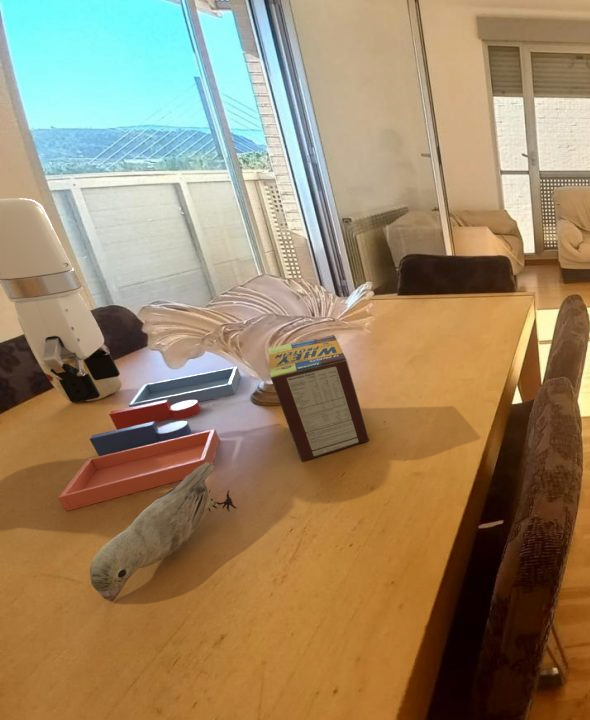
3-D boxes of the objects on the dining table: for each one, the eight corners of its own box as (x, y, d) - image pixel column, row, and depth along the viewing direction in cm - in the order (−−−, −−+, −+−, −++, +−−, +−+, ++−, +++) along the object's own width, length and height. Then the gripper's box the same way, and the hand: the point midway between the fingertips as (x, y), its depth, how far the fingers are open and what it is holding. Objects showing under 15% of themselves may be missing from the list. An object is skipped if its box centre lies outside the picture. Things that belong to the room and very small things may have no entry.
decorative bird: (85, 603, 52) (52, 552, 50) (208, 506, 67) (188, 462, 64) (131, 604, 52) (101, 553, 49) (245, 506, 67) (226, 462, 64)
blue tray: (133, 415, 93) (128, 405, 92) (148, 394, 102) (143, 384, 101) (234, 394, 101) (230, 384, 100) (240, 376, 110) (237, 366, 109)
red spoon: (114, 434, 87) (106, 417, 85) (122, 424, 90) (114, 408, 89) (199, 415, 93) (192, 399, 91) (203, 406, 96) (196, 391, 95)
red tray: (66, 511, 67) (57, 497, 66) (94, 471, 76) (87, 459, 75) (209, 472, 75) (204, 459, 74) (220, 440, 84) (215, 428, 83)
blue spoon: (95, 460, 79) (85, 442, 77) (104, 448, 82) (95, 431, 81) (189, 438, 85) (181, 421, 83) (193, 427, 88) (186, 411, 87)
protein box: (356, 407, 93) (334, 333, 87) (370, 441, 82) (347, 358, 76) (293, 425, 88) (266, 347, 82) (299, 463, 76) (268, 376, 70)
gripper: (34, 279, 76) (85, 375, 82) (-27, 303, 62) (41, 416, 69) (98, 272, 79) (142, 365, 86) (54, 293, 66) (111, 402, 72)
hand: (97, 388), depth 77 cm, fingers open, 9 cm apart
